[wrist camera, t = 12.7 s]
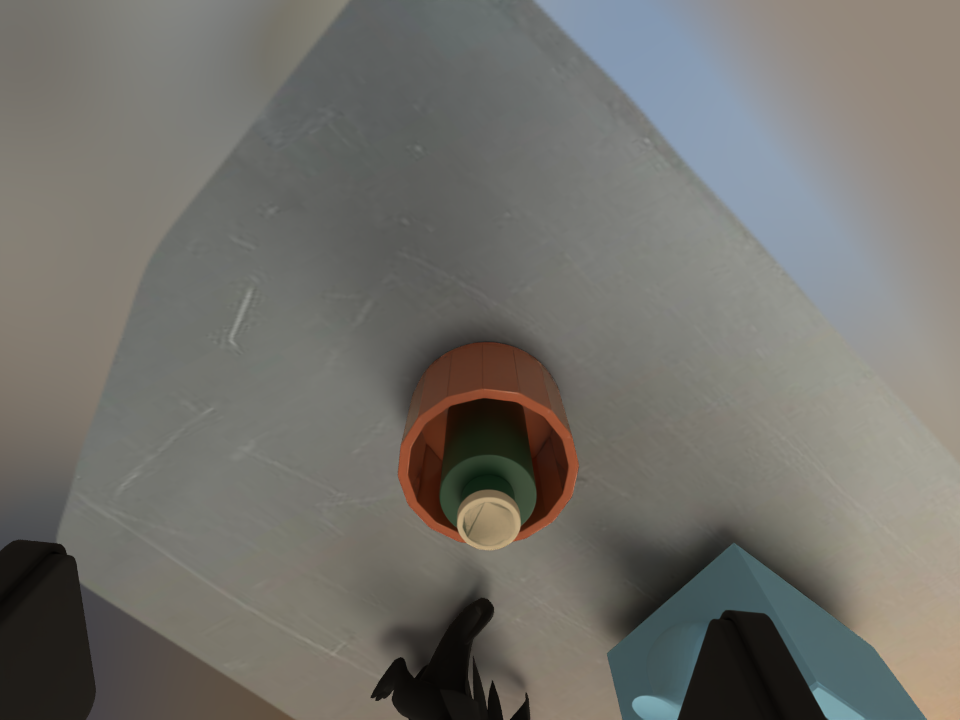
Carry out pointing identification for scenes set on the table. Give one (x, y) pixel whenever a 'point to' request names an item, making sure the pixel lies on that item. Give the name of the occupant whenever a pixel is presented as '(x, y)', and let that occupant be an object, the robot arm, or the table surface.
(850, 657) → the teapot
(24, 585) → the robot arm
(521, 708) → the figurine
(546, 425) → the cup
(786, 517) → the table surface
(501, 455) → the bottle
